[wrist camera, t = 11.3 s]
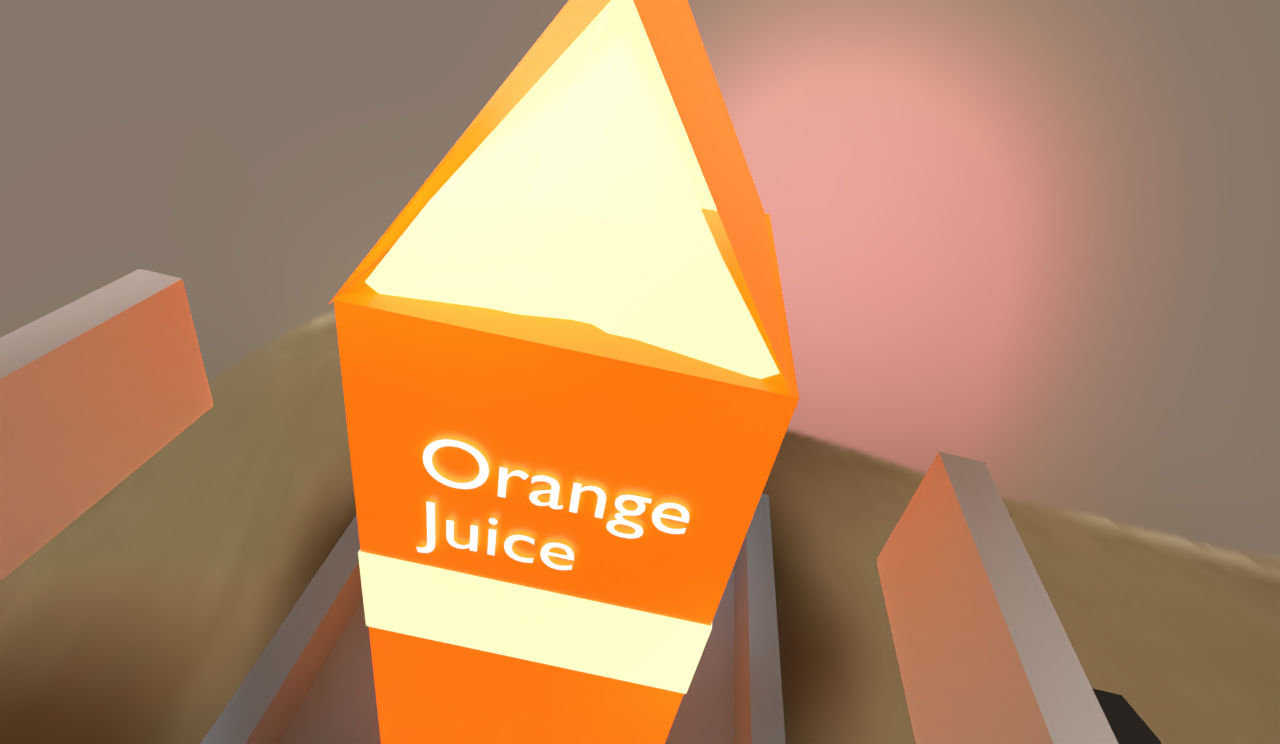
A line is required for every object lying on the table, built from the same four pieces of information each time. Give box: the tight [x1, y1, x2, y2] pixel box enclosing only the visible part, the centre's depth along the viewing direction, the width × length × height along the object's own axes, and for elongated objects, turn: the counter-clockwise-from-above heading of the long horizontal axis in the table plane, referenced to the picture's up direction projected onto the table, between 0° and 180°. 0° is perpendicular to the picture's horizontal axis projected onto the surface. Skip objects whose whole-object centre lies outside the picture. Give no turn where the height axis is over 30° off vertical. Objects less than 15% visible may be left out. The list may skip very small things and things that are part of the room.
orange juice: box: [330, 0, 799, 744], centre depth 16 cm, size 8×9×20 cm
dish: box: [201, 494, 786, 744], centre depth 21 cm, size 15×15×2 cm
